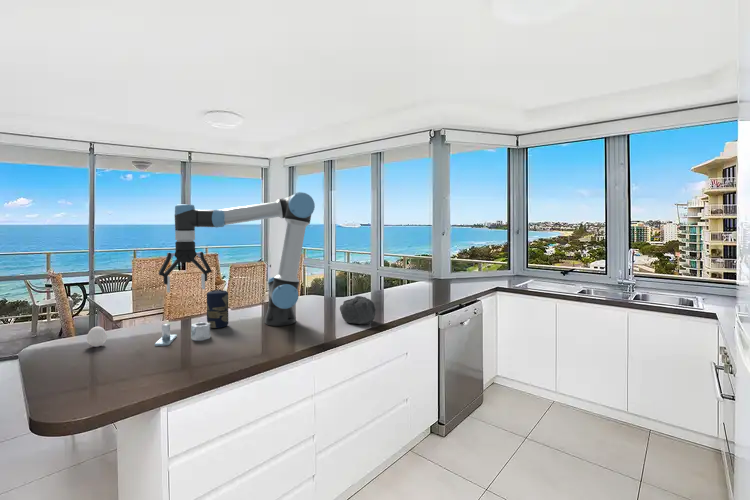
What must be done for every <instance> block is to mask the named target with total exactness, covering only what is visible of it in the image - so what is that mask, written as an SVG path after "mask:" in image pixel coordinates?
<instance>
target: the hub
mask: <svg viewBox="0 0 750 500" xmlns="http://www.w3.org/2000/svg"><path fill="white" fill-rule="evenodd" d="M190 326H191V328H190V329H191V333H190V336H191V340H192V341H197V342H198V341H206V340H209V339H210V338H211V328H210V323H208V322H207V321H203V322H202V321H200V322H194V323H192V324H191V325H190Z"/></svg>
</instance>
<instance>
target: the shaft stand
mask: <svg viewBox="0 0 750 500" xmlns="http://www.w3.org/2000/svg"><path fill="white" fill-rule="evenodd" d="M177 335H178V334H171V324H170V323H163V324H161V337H160V338H159V339H158V340H157V341H156V342H155V343H154V347H165V346H166V347H167V346H170V345H171V344H172V343H173V341H174V340H175V339H176V338H177V337H178V336H177Z"/></svg>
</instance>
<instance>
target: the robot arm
mask: <svg viewBox="0 0 750 500" xmlns="http://www.w3.org/2000/svg"><path fill="white" fill-rule="evenodd" d="M315 206H316V205H315V201H314V199H313V197H312V196H311V195H310V194H308V193H306V192H302V191H299V192H294V193H293V194H292V195H290V196H288V197H287V196H286V197H283V198H278V199H277V200H276V201H271V202H264V203H258V204H250V205H249V204H248V205H241V206H236V207H228V208H221V209H197V208H195V205H194V204H188V203H187V204H186V203H185V204H181V203H179V204H176V205H175V206H174V232H175V233H174V234H175V235H174V236H175V239H174V240H175V242H174V243H175V252H167V253H166V258H165V260H164V262H163V264H162V266H161V268H160V270H159V271H158V275H159V276H162V277H163V285H166V292H167V293H171V283H170V282H171V281H170V279H171V278H170V276H169V275H170V274H171V273H172V272H173V271H174V269H175V268H176V267H177V265H179V264H180V263H181V264H185V263H189V264H190V263H193V264H194V265H195V267H197V268H198V269H199V270H200V272H202V273H201V289H202V290H206V282H208V274H210V273H212V272H213V271H212V269H211V267H210V264H209V263H208V261H207V260H206V258H205V256H204V251H197V252H196V241H195V240H196V230H195V229H196V228H216V229H217V228H224V227H225V226H228V225H234V224H241V223H246V222H247V223H248V222H255V221H260V220H268V219H274V218H280V219H284V220H285V221H286V231H285V234H284V235H285V237H284V240H283V246H282V250H281V257H280V263H279V268H278V273H277V275H275V276H273V277H269V279H268V282H267V285H268V307H267V312H266V314H265V317H264V324H265V325H267V326H272V327H273V326H274V327H284V326H290V325H293V324H296V322H297V317H296V314H295V311H294V306H295V305H296V304H297V302H298V300H299V285H300V279H299V278H298V272H299V267H300V260H301V255H302V250H303V245H304V239H305V234H306V228H307V226H309V225H310V223H311V218H312V215H313V213H314V211H315ZM173 257H174V258H176V259H175V260H174V261H173V263H172V264H171V265H170V266H169V267H168V265H169V263H170V261H171V259H173ZM196 257H199V258H200V260H201V262H202V264H203V266H202V265H201V264H200V262H198V261H197V260H196ZM167 267H168V268H167ZM166 269H167V270H166Z"/></svg>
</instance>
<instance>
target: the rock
mask: <svg viewBox="0 0 750 500" xmlns="http://www.w3.org/2000/svg"><path fill="white" fill-rule="evenodd" d="M342 303H343V304H341V305H340V307H339V310H340V315H341V317H342V319H343V320H344V321H345V322H347V323H348V324H355V325H356V324H357V325H368V324H370V323H372V322H373V321H374V320H375V317H376V314H377V313H376V306H375V303H374V302H373V301H372V300H371V299H370V298H367V297H366V296H359V295H356V296H354V297H353V298H350V299H347V300H344V301H343V302H342Z"/></svg>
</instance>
